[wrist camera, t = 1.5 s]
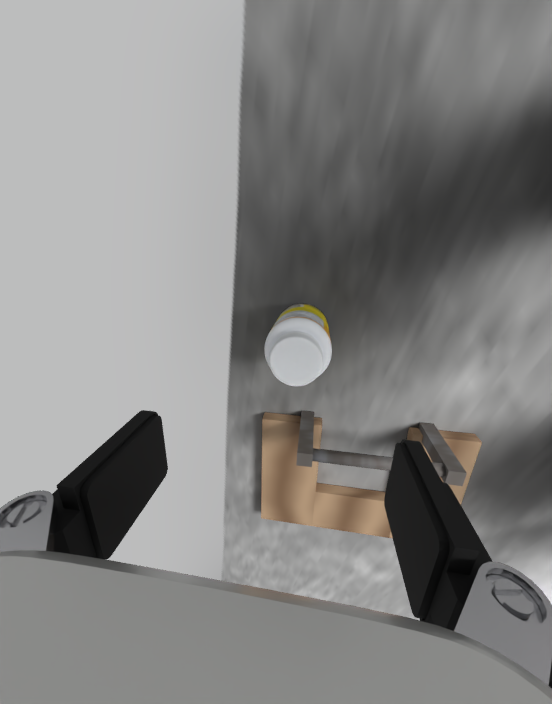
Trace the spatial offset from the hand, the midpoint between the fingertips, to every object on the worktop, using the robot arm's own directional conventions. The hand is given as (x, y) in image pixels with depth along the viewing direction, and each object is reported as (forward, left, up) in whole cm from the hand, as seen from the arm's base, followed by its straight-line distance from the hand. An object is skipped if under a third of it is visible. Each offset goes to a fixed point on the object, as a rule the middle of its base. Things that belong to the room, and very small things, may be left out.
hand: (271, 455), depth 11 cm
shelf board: (-8, +19, -20) cm, 29 cm away
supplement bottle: (0, 0, -20) cm, 20 cm away
